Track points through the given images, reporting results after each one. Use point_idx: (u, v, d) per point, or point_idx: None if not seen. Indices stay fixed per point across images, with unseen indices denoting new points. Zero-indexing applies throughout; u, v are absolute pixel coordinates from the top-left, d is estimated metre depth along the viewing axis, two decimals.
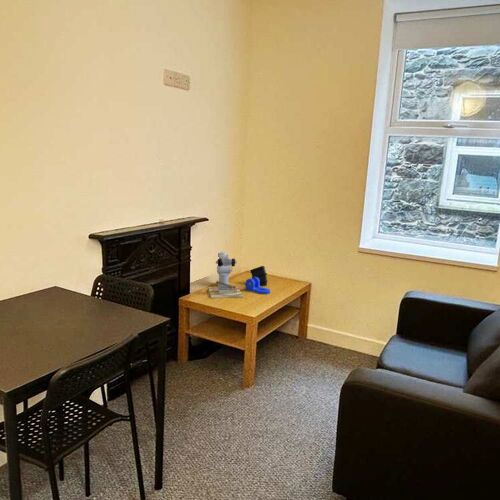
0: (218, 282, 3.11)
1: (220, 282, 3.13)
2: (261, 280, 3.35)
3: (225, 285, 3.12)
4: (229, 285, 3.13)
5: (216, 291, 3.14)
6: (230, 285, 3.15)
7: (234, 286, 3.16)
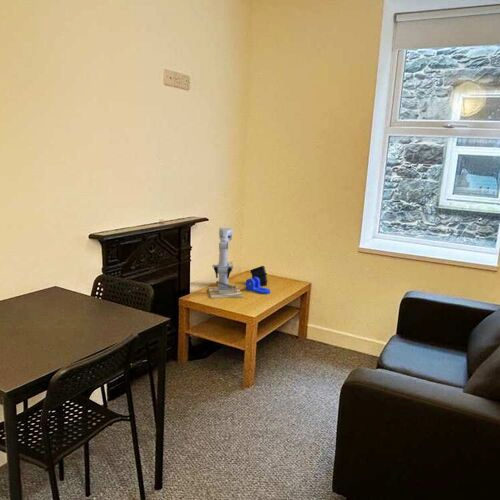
0: (218, 282, 3.11)
1: (220, 282, 3.13)
2: (261, 280, 3.35)
3: (225, 285, 3.12)
4: (229, 285, 3.13)
5: (216, 291, 3.14)
6: (230, 285, 3.15)
7: (234, 286, 3.16)
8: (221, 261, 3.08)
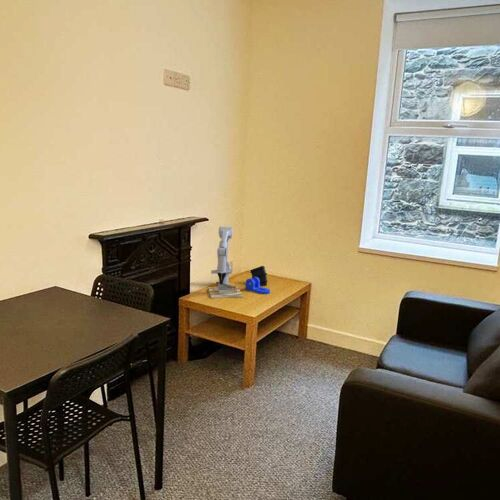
0: (218, 283, 3.11)
1: None
2: (261, 280, 3.35)
3: (225, 285, 3.12)
4: (229, 285, 3.14)
5: (216, 291, 3.14)
6: (230, 285, 3.15)
7: (234, 286, 3.16)
8: (220, 268, 3.07)
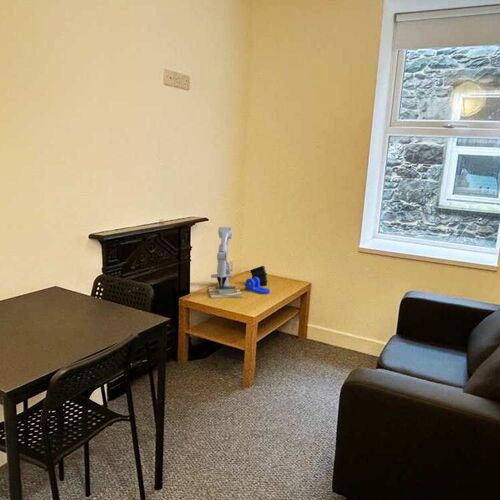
0: (217, 287, 3.11)
1: (219, 287, 3.13)
2: (261, 280, 3.35)
3: (224, 288, 3.12)
4: (228, 287, 3.14)
5: (216, 291, 3.14)
6: None
7: (234, 286, 3.16)
8: (220, 272, 3.08)
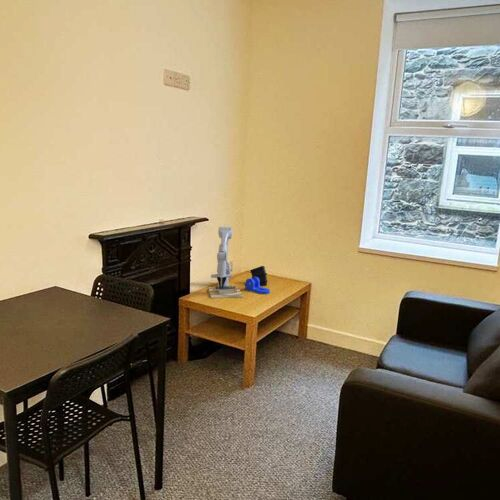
0: (217, 287, 3.11)
1: (219, 287, 3.13)
2: (261, 280, 3.35)
3: (224, 288, 3.12)
4: (228, 287, 3.14)
5: (216, 291, 3.14)
6: None
7: (234, 286, 3.16)
8: (220, 272, 3.08)
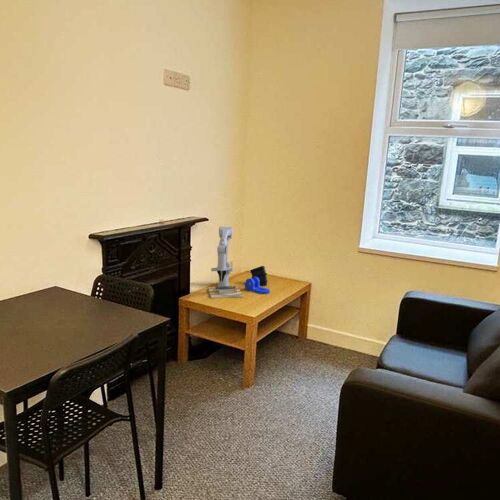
0: (217, 287, 3.11)
1: (219, 287, 3.13)
2: (261, 280, 3.35)
3: (224, 288, 3.12)
4: (228, 287, 3.14)
5: (216, 291, 3.14)
6: None
7: (234, 286, 3.16)
8: (220, 265, 3.07)
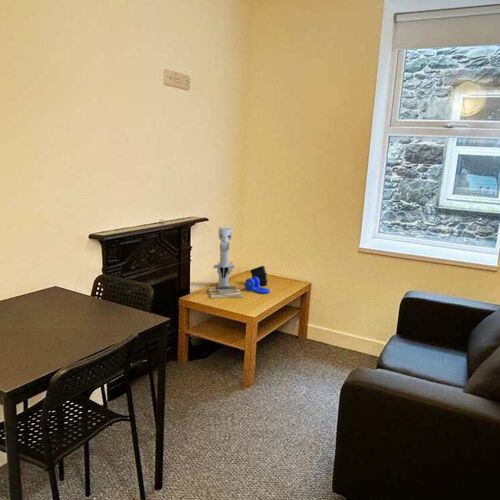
0: (217, 287, 3.11)
1: (219, 287, 3.13)
2: (261, 280, 3.35)
3: (224, 288, 3.12)
4: (228, 287, 3.14)
5: (216, 291, 3.14)
6: None
7: (234, 286, 3.16)
8: (222, 262, 3.10)
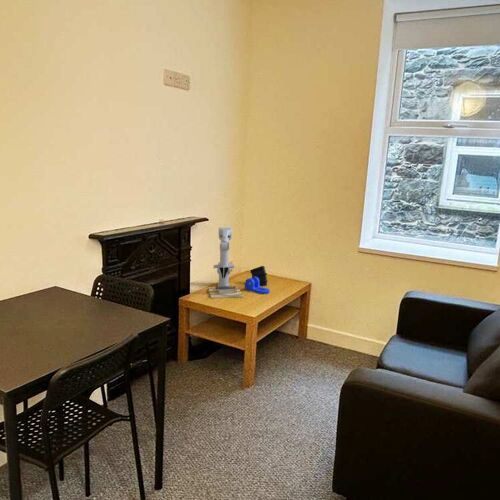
0: (217, 287, 3.11)
1: (219, 287, 3.13)
2: (261, 280, 3.35)
3: (224, 288, 3.12)
4: (228, 287, 3.14)
5: (216, 291, 3.14)
6: None
7: (234, 286, 3.16)
8: (222, 262, 3.10)
